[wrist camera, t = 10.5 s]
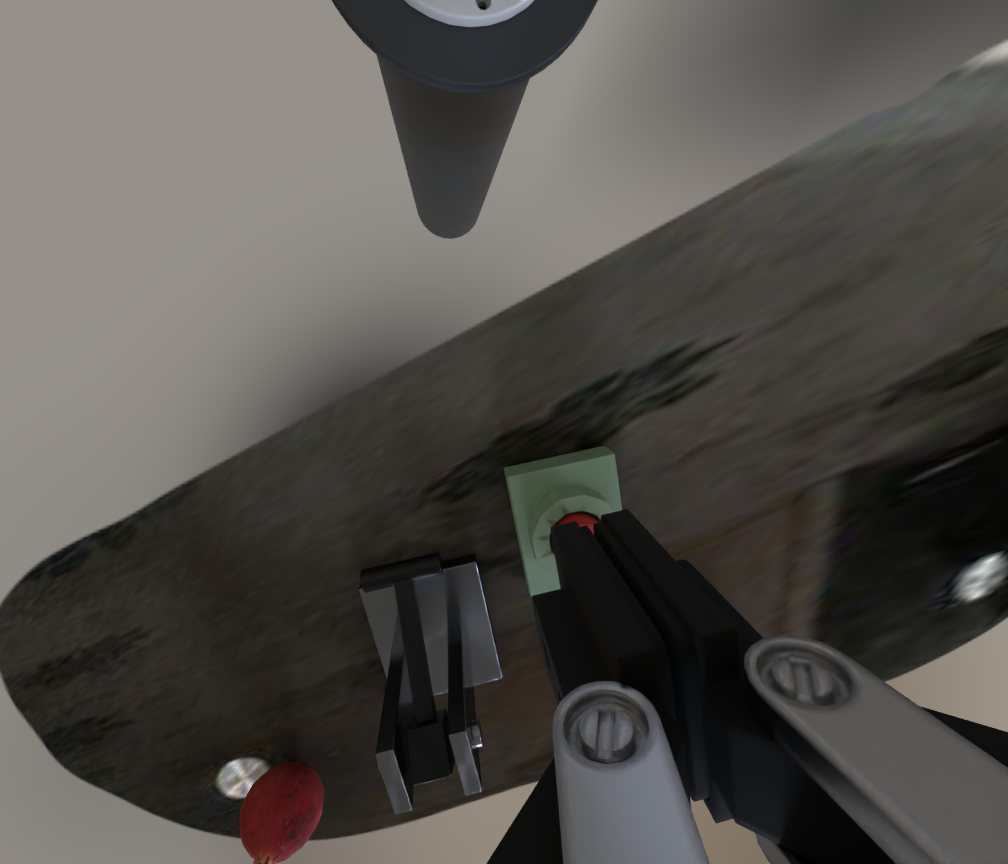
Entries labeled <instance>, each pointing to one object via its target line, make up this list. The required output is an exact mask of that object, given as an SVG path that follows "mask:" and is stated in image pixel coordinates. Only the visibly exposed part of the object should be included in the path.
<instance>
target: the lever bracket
mask: <svg viewBox="0 0 1008 864" xmlns="http://www.w3.org/2000/svg"><path fill="white" fill-rule="evenodd" d="M442 566H443V575H440V576H436V577H431V578H427V579H423V580H418V581H414V584H415V590H416V596H417V602H418V608H419V614H420V619H421V625H422V631H423V637H424V643H425V649H426V655H427V661H428V666H429V672H430V678H431V684H432V690H433V696H434V695H438V694H442V693H446V692H448V729H449V739H450V743H451V747H452V750H453V754H454V758H455V761H456V765H457V768H458V772H459V776H460V779H461V783H462V787H463V790H464V794H465V796H467V795H470V794H474V793H478V792H481V791H482V784H481V772H480V759H479V747H482V746H483V736H482V730H481V725H480V721H479V719H476V710H475V697H474V685H478V684H482V683H486V682H490V681H494V680H498V679H502V671H501V665H500V661H499V657H498V652H497V648H496V643H495V639H494V634H493V630H492V626H491V621H490V617H489V612H488V608H487V604H486V599H485V595H484V590H483V586H482V582H481V577H480V573H479V568H478V564H477V559H476V555H475V554H473V555H469V556H465V557H460V558H456V559H452V560H447V561H443V562H442ZM359 592H360V595H361V598H362V602H363V605H364V608H365V611H366V615H367V618H368V621H369V624H370V628H371V631H372V634H373V637H374V640H375V644H376V647H377V650H378V653H379V657H380V660H381V663H382V666H383V670H384V673H385V676H386V679H387V683H386V689H385V696H384V702H383V709H382V715H381V722H380V728H379V735H378V741H377V748H376V754H375V755H376V758H377V763H378V768H379V771H380V772H381V773H382V776H383V779H384V782H385V785H386V788H387V791H388V794H389V797H390V800H391V803H392V806H393V809H394V812H395V814H399V813H403V812H407V811H410V810H412V804H413V788H414V785H413V781H412V774H411V768H410V761H409V755H408V748H407V741H406V735H405V731H406V729H407V727H408V725H409V723H410V721H411V719H412V718H413V717H415V713H414V707H413V701H412V694H411V688H410V682H409V675H408V669H407V663H406V657H405V650H404V644H403V638H402V632H401V625H400V619H399V613H398V607H397V600H396V594H395V588H394V586H393V587H389V588H384V589H380V590H376V591H371V592H367V593H365V592H364V591H363V589H362V586H361V584H360V587H359Z"/></svg>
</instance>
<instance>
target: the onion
mask: <svg viewBox="0 0 1008 864" xmlns="http://www.w3.org/2000/svg"><path fill="white" fill-rule="evenodd" d="M323 798H324V787H323V784H322V781H321V779H320V777H319V775H318V773H317V771H316V770H314V769H313V768H312V767H310V766H309V765H307V764H306V763H302V762H297V761H294V762H286V763H283V764H281V765H278V766H275V767H273V768H270V769H269V770H268V771H267V772H266V773H264V774H263V775H262V776H261V777H260V778H259V779H258V780H257V781H256V782H255V783H254V784H253V785H252V787H251V789H250V790H249V792H248V794H247V796H246V798H245V800H244V803H243V805H242V808H241V812H240V816H239V819H240V835H241V840H242V843H243V845H244V847H245V849H246V850H247V852H248V853H249V855H250V856H251V857H252V858H254V859H255V861H254V862H253V864H275V863H278V862H281V861H284V860H286V859H287V858H289V857H290V856H291V855H292V854H294V853H295V852H296V851H298V850H299V849H300V848H302V846H304V844H305V843H306V842H307V841H308V839H309V837H310V836H311V834H312V833H313V831H314V830H315V828H316V826H317V825H318V822H319V820H320V817H321V814H322V807H323Z"/></svg>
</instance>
